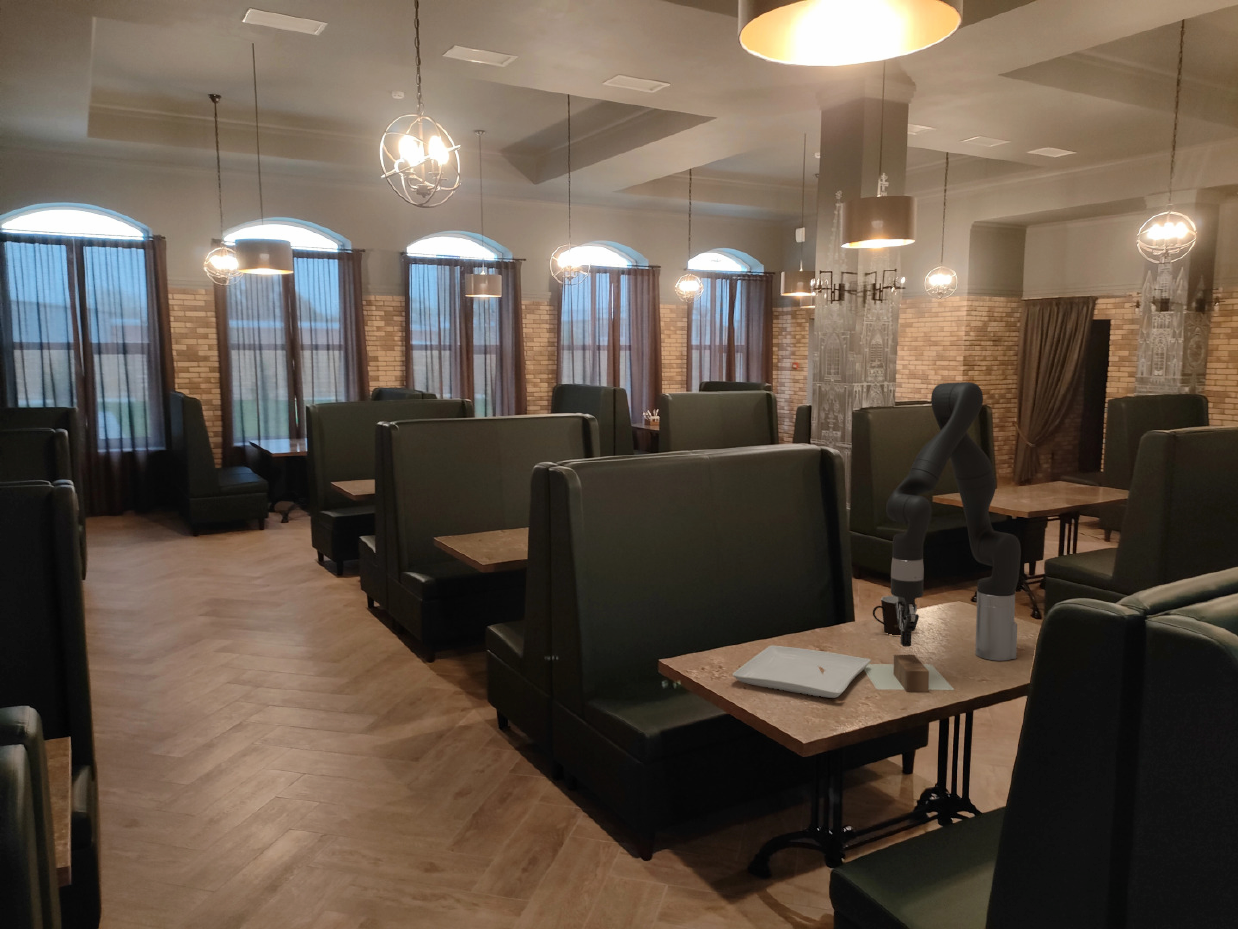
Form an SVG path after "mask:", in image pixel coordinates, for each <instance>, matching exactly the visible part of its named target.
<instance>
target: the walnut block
mask: <svg viewBox="0 0 1238 929" xmlns="http://www.w3.org/2000/svg"><path fill="white" fill-rule="evenodd" d="M893 664H894V673H893V674H894V676H895V677H896V678H897V680H898V681H899V682H900V684H901V685H902V686H903V688H904V689H905V690H904V691H905V692H907V693H928V692H929V690H928V688H929V671H928V670H927V669H926V667H925V666H924V665H923V663H922V662H921V660H919V658H918V657H917V656H916V655H915V654H893Z"/></svg>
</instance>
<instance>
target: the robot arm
mask: <svg viewBox="0 0 1238 929" xmlns="http://www.w3.org/2000/svg"><path fill="white" fill-rule="evenodd" d="M930 398H931V399H930V400H931V403H930V404H931V409H932V412H933V415H934V418H935V420H936V423H937V426H938V428H939V430H940V431H939V432H938V433H936V435H935V436H934V437H933V438H931V439H930V440H929V441H928V442H927V443H925V445H924V446H923V447H922V448H921V449H920V451H919V452H918V454H917V455H916V457H915V458H914V461H913V462H912V465H911V467H910V470H909V472H908V473H907V476H906V477H905V478H904V479H903V480H902V481H901V482H900V483H899V485H897V487H896V488H895V489H894V490H893V492H892V493H891V494H890V496H889V498H888V500H887V502H886V507H885V508H886V510H885V511H886V515H887V517H888V518H889V520H891V521H893V522H895V523H900V524H906V525H908V528H907V530H906V531H905V532H899V533H898V532H897V533H896V534H894V536H893V539H892V559H891V566H890V568H891V569H890V594H891V596H896V597H898V601H897V602H895V608H896V614H897V621H898V625H900V626H899V628H900V630H901V637H900V645H901V646H902V647H905V648H906V647H909V648H910V647H911V646H912V632H915V631H916V628H917V625H918V623H919V622H918V621H919V618H920V616H919V614H917V613H916V612H917V611H918V604H916V599H919V598H922V597H923V595H924V576H925V575H924V573H925V570H924V569H925V568H924V542H925V539H926V538H925V537H926V535H927V531H928V527H929V524H930V521H931V519H932V506H931V502H930V501H929V500H928V499H927V498H926V497H924V496H923V495H922V494H927V493H931V492H933V491H934V490H935V489H936V487H937V484H938V483H939V480H940V478H941V476H942V473H943V472H944V470H945V467H946V465H947V463H948V461H949V460H950V463H951V466H952V472H953V476H954V480H955V483H956V487H957V489H958V492H959V496H960V500H961V504H962V508H963V512H964V517H965V521H966V527H967V532H968V534H967V535H968V540H969V546H970V549H971V553H972V556H973V558H974V560H976V562H978V563H980V564H982V565H985V566H990V567H992V572H991V576H989V577H983V578H980V579H978V581H977V588H976V617H975V618H976V619H975V621H976V622H975V623H976V624H975V648H974V649H975V651H974V652H975V655H976V656H977V657H979V658H981V659H984V660H990V661H999V662H1001V661H1009V660H1016V659H1017V648H1018V646H1017V643H1018V623H1017V622H1016V621H1015V613H1016V608H1015V606H1016V588H1017V586H1018V583H1019V579H1020V578H1019V577H1020V568H1021V556H1022V548H1021V543H1020V540H1019V538H1018V537H1017V536H1016V535H1014V534H1012V533H1008V532H1002V531H996V530H994V528H993V526H992V523H991V518H990V514H989V513H990V506H991V504H992V501H993V499H994V496H995V493H996V488H997V487H996V486H997V482H996V481H997V480H996V478H995V475H994V470H993V467H992V462H991V460H990V459H989V457H988V456H987V454H986V453H985V452H984V450H983V449H982V448H981V447H980V446H979V445H978V444H977V442H976V441H974V440H973V438H972V437H971V435H970V434H969V433H968V431H969V429H970V428H971V426H972V424H973V423H974V422H975V420H976V419H977V417H978V415H979V413H981V412H980V411H981V409H982V406H983V402H984V395H983V390H982V389H981V387H980V386H979V385H978V384H977V383H974V382H969V381H965V382H964V381H962V382H946V383H944V382H943V383H940V384H937V385H936V386H935V387H934V389H933V390H932V392H931V397H930Z"/></svg>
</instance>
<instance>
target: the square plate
mask: <svg viewBox="0 0 1238 929" xmlns="http://www.w3.org/2000/svg"><path fill="white" fill-rule="evenodd" d="M871 661H872V659H871V658H865V657H858V656H855V655H854V656H852V655H849V654H848V655H847V654H841V653H837V652H830V651H829V652H828V651H823V650H816V649H807V648H799V647H792V646H791V647H790V646H783V645H782V646H780V645H773V644H772V645H769V646H767V647H766V648H764V649H763V650H762V651H760V652H759V653H757V654H756V655H754V656H753V657H752V658H751V659H750V660H748V661H747V662H745V663H744V664H743V665H742V666H740V667H739V668H737V669H736V670H735V671H734V672H733V673H732V674H731V675H732V677H733V678H735V680H737V681H739V682H740V683H743V684H747V685H752V686H758V687H762V688H766V687H768V688H767V689H772V688H774V689H773V690H777V689H779V691H783V690H784V692H789V693H795V694H800V693H802V695H807V694H808V695H807V696H811V695H813V696H814V697H819V696H821V697H823V698H829V699H830V698H831V699H835V698H838V697H839V696H841V694H842V693H844V692H845V690H846V689H847V687H848V686H849V685H850V684H851V682H852V681H853V680H854V679H855V678H856V677H857V676H858V675H860V674H861V673H862V671H864V668H865V667H866V666H867V665H868V664H871ZM820 668H821V669H823V670H824V671H823V673H822V671H821V669H820ZM813 696H812V697H813ZM821 697H819V698H821Z"/></svg>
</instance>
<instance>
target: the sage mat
mask: <svg viewBox="0 0 1238 929" xmlns="http://www.w3.org/2000/svg"><path fill="white" fill-rule="evenodd" d="M922 664H923V663H922ZM923 665H924V666H925V667H926V669H927V670H928V671H929V688H928V691H955V688H954V687H953V686H952V685H951V684H950V682H948V681H947V679H946V678H944V677H943V675H942V674H941V673H940V672H939V671H938V669H936V668H935V666H934V665H933V664H932V663H931V664H926V663H925V664H923ZM863 671H864V672H865V673H866V675H867V677H868V678H869V680H870V681H871V683H872V684H873V686H874V687H875V689H876V690H878V691H879V690H881V691H882V690H885V691H886V690H889V691H891V690H894V691H895V690H896V691H900V690H902V691H903V690H904V691H906V690H905V689H904V688H903V686H902V685H901V684H900V682H899V681H898V680H897V678H896V677H895V676H894V674H893V673H894V663H890V664H889V663H883V664H881V663H869V664H868V665H867V666H866V667H865V668H864V670H863Z"/></svg>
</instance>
